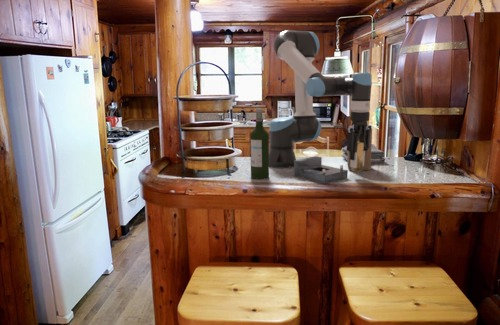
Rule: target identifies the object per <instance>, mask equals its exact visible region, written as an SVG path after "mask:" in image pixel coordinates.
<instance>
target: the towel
mask: <svg viewBox="0 0 500 325" xmlns="http://www.w3.org/2000/svg"><path fill="white" fill-rule="evenodd" d="M342 152H343V153H342V154H341V157H342V158H343V159H344V160H346V161H347V162H348V151H347V145H346V146H344V147H343V148H342ZM385 161H386V158H385V151H383V150H380V149H378V148H377V146H376V145H375V144H374V143H372V146H371V164H375V163H376V164H378V163H380V162H383V163H385ZM380 164H381V163H380Z"/></svg>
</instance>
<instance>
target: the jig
mask: <svg viewBox="0 0 500 325" xmlns="http://www.w3.org/2000/svg"><path fill="white" fill-rule="evenodd" d="M322 158H323V157H322V156H318V155H317V156H310V157H305V158H300V159H296V160H294V166H293V167H294V171H293V176H294V177H298V178H301V179H304V180H305V179H306V180H310V181H311V182H312V181H313V182H315V183H320V184H323V183H326V184H329V183H334V182H338V181H342V180H346V179H348V175H349V174H348V171H349V169H348V170H347V169H344V165H343V164H340V166H339V168H338V167H333V166H328V165H324V164H322V161H323V160H322Z"/></svg>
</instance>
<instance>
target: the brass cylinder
mask: <svg viewBox="0 0 500 325" xmlns="http://www.w3.org/2000/svg"><path fill="white" fill-rule="evenodd" d="M363 149H364V142H358V143H357V148H356V152H357V165H356V168H353V167H352V170H351V171H352V172H362V171H363V170H362V165H363Z"/></svg>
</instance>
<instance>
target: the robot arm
mask: <svg viewBox="0 0 500 325" xmlns="http://www.w3.org/2000/svg"><path fill="white" fill-rule="evenodd" d="M272 46H273V51H274V54H275V55H276V56H277V57H278V58H279V59H280V60H282V61H285V63H286V64H287V65H288V66H289V67H290V68H291V69H292V71H293V72H294V94H295V95H294V96H295V98H294V99H295V100H294V101H295V103H294V104H295V112H294V113H293V115H292V116H281V117H275V118H273V119H271V120H270V122H269V128H268V129H269V168H275V169H276V168H278V169H279V168H280V169H282V168H283V169H284V168H285V169H286V168H287V169H288V168H293V167H294V160H297V159H296V154H295V151H294V144H295V143H304V142H306V143H309V142H313V141H315V140H317V139H318V138H319V137H320V134H321V132H322V123H321V120H320V119H319V118H317V113H315V112H314V105H313V104H314V102H313V101H314V100H313V97H317V98H318V97H329V96H330V97H332V96H336V97H337V96H338V97H339V96H348V97H349V96H351V102H350V110H351V111H350V121H351V127H350V128H349V126H348V127H346V133H347V135H346V146H347V151H349V152H350V167H353V168H356V165H357V152H356V148H357V143H358V138H359V142H364V149H363V165H362V166H364V158H365V151H367V150H368V149H367V148H369V142H370V131H371V128H372V125H370V124H368V122H369V121H370V115H371V114H370V110H371V99H372V98H371V96H372V85H373V83H372V79H373V77H372V73H370V72H353V73H352V77H349V76H348V77H345V76H338V77H325V76H324V75H323V74H322V73H321V71H319V70H318V69H317V68H316V67H315V66H314V65H313V64H312V63H313V61H314V60H315V58H316V55H318V54H319V50H320V46H321V45H320V40H319V37H318V36H317V35H316V33H315V32H313V31H308V30H289V29H288V30H283V31H281V32H279V33H278V34H277V35H276V36H275V38H274V41H273V45H272Z"/></svg>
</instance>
